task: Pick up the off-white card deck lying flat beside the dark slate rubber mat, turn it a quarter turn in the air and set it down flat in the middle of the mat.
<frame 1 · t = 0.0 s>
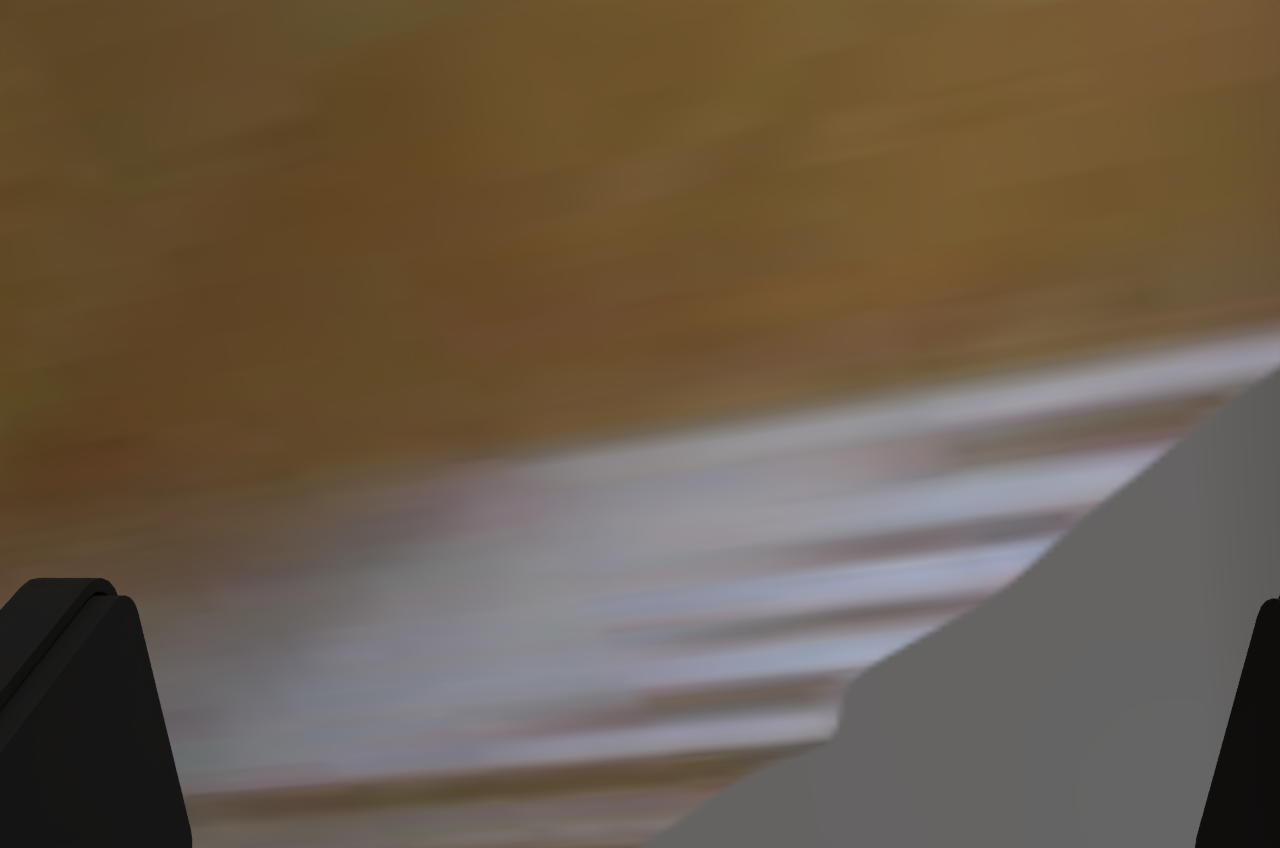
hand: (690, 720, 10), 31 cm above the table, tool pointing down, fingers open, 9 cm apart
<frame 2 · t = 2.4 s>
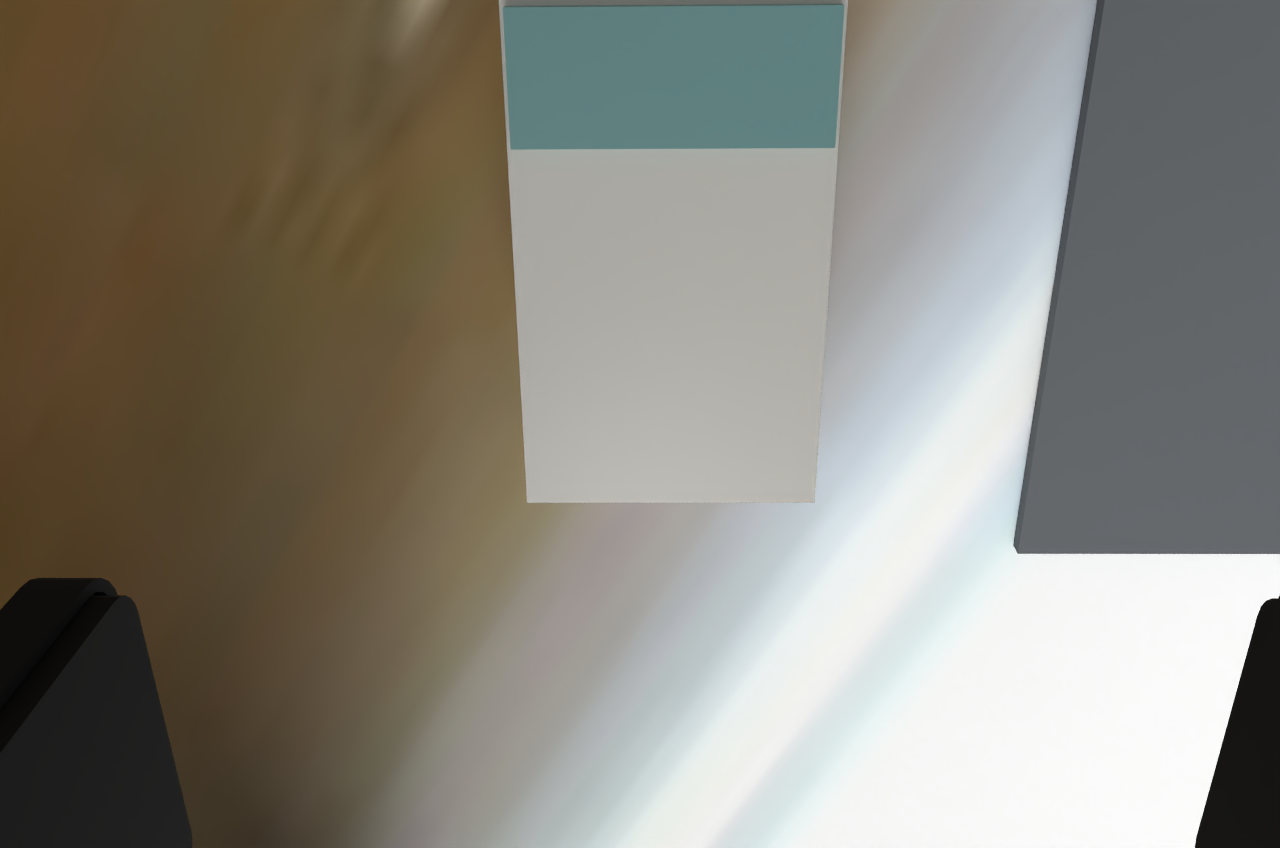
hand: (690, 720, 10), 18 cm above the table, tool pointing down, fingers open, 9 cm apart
card deck: (668, 206, 26), on the table
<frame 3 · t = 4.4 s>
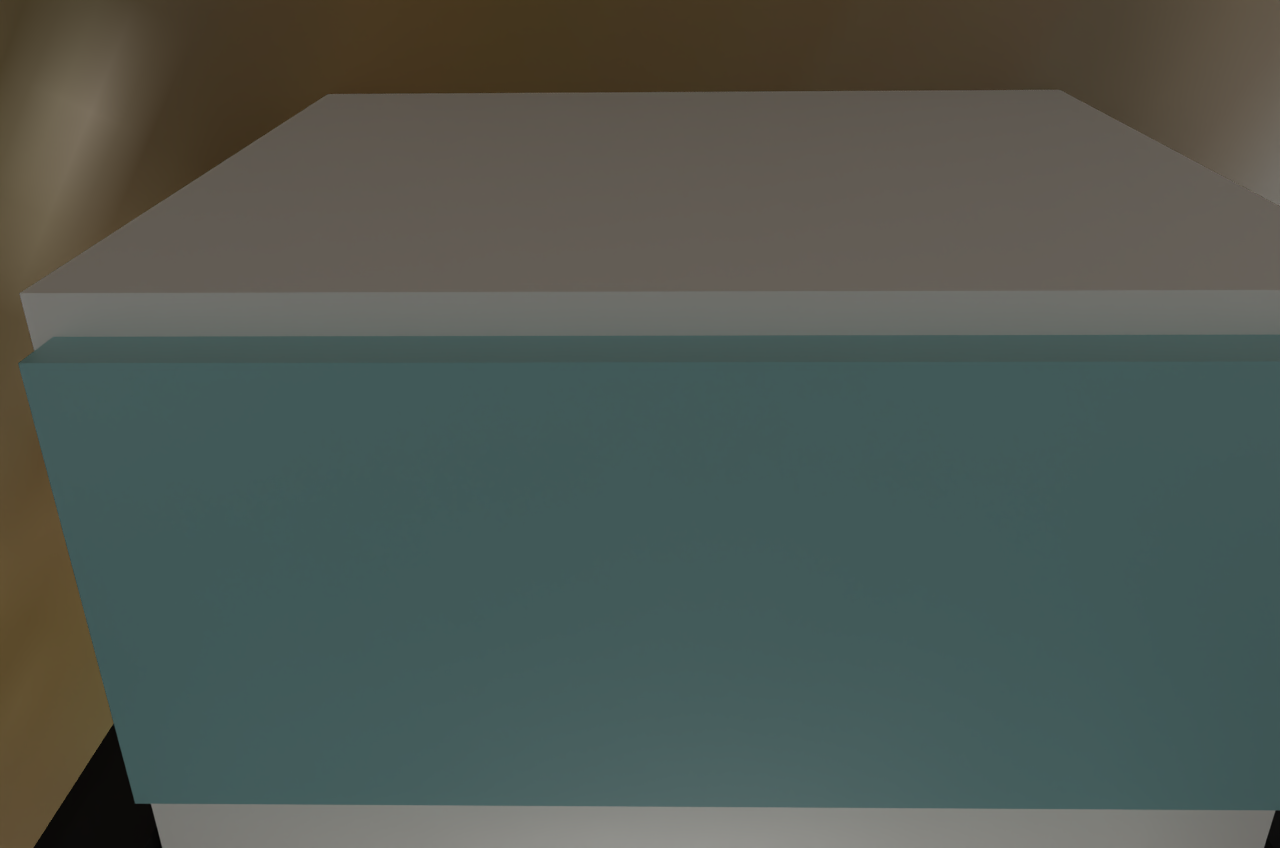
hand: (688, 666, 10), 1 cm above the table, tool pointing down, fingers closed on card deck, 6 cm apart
card deck: (686, 600, 11), on the table, touching gripper
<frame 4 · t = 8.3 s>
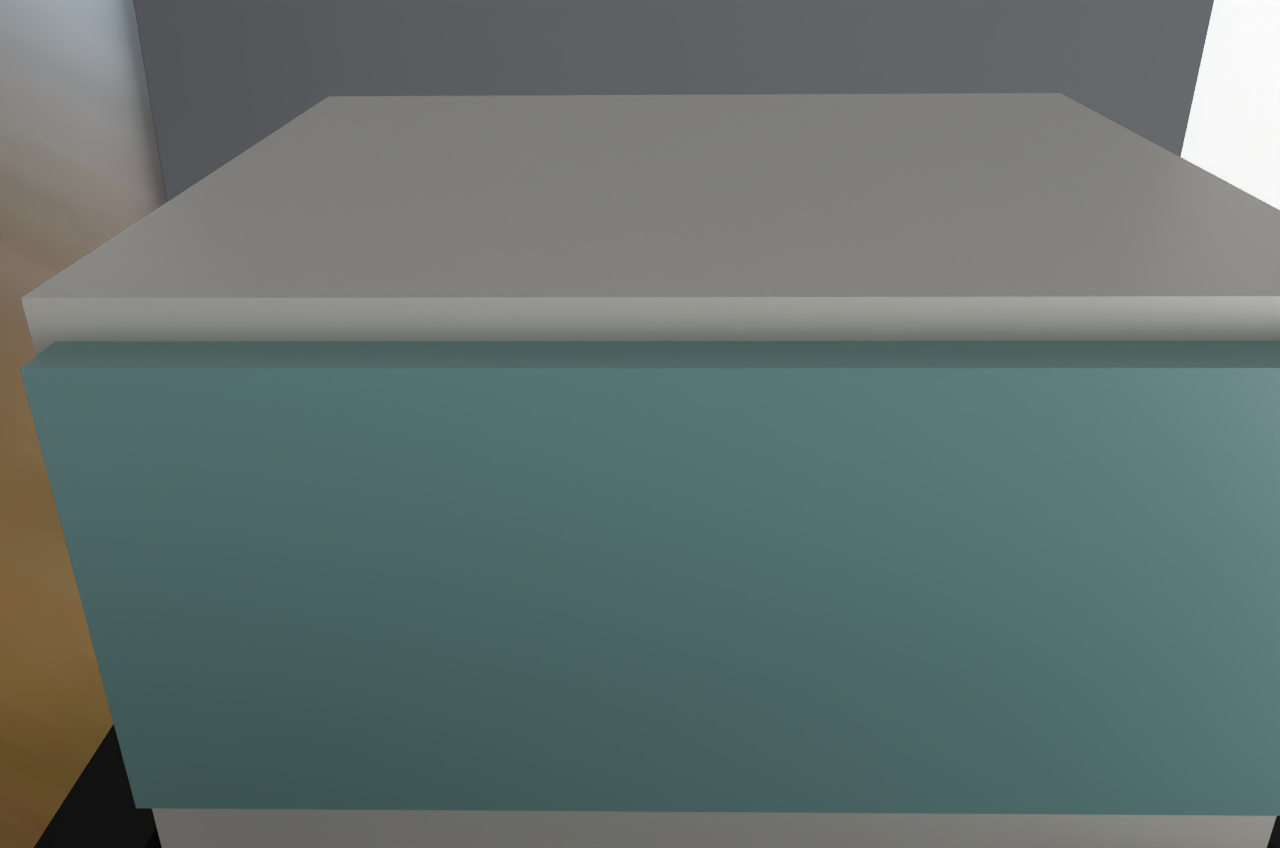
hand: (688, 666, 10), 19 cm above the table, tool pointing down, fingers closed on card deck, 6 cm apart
card deck: (686, 602, 11), point 18 cm above the table, touching gripper
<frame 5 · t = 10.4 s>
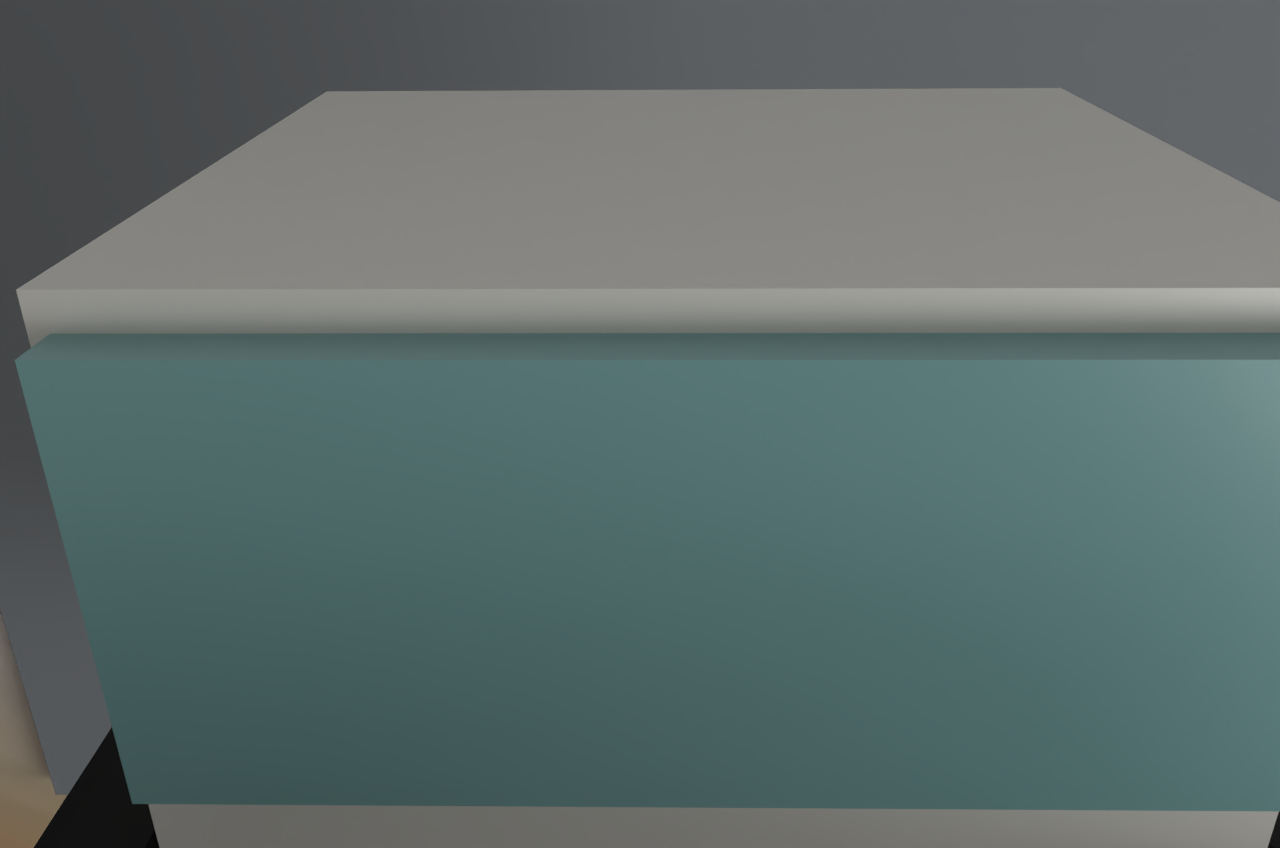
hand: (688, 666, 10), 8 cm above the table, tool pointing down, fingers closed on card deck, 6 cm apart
mat: (691, 346, 18), on the table
card deck: (685, 599, 11), point 7 cm above the table, touching gripper
when the fingers open (3 cm above the table, at t = 12.0 s): card deck stays where it is, resting on mat.
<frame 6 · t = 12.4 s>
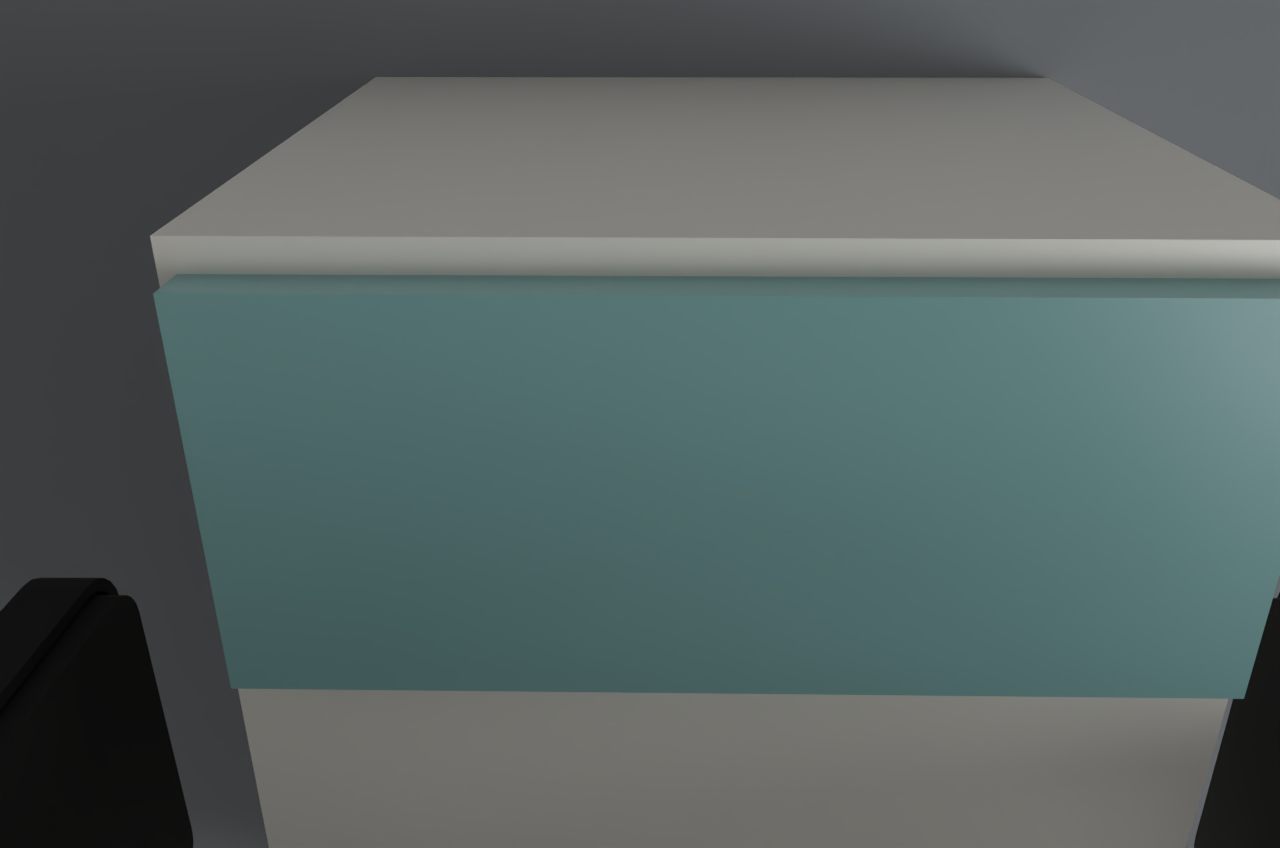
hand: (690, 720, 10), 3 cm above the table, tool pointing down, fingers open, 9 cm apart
mat: (683, 521, 13), on the table
card deck: (698, 553, 12), resting on mat
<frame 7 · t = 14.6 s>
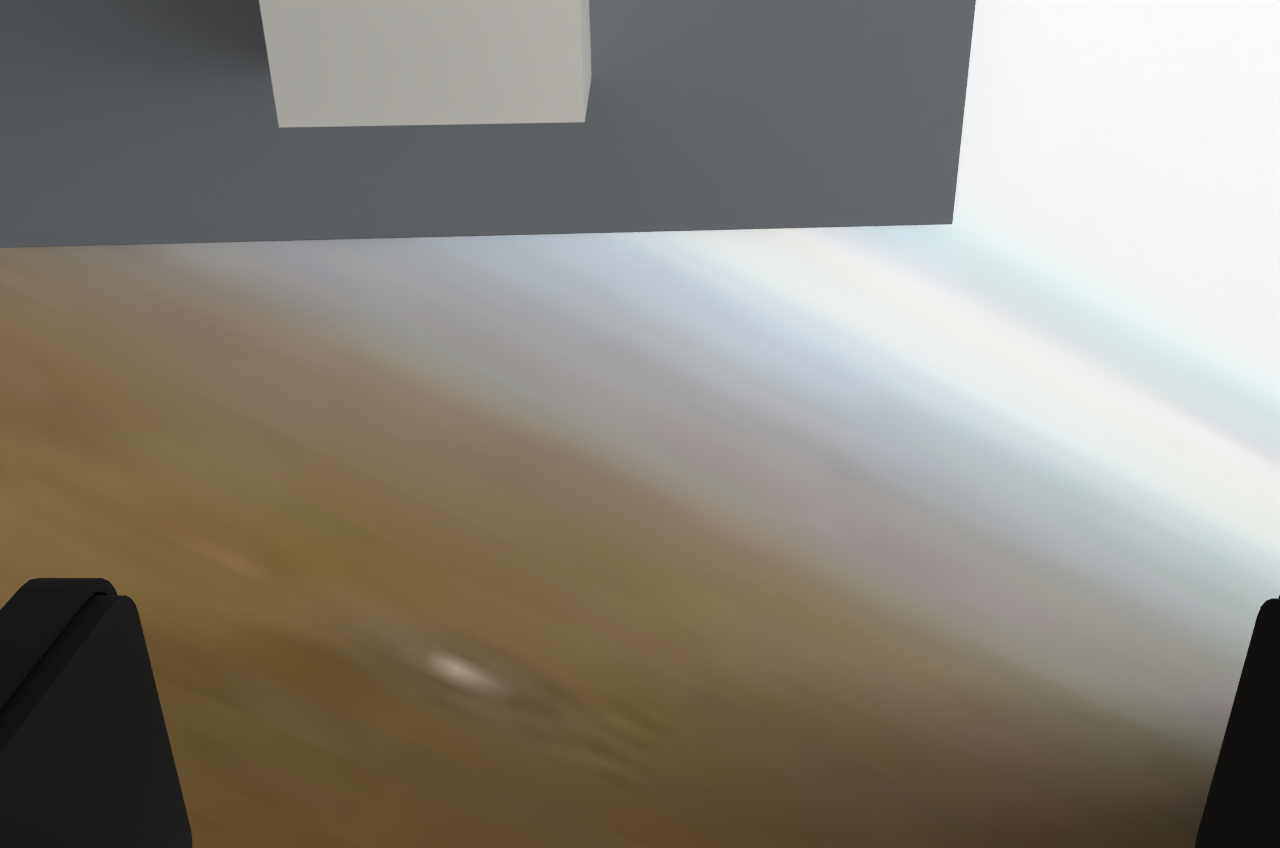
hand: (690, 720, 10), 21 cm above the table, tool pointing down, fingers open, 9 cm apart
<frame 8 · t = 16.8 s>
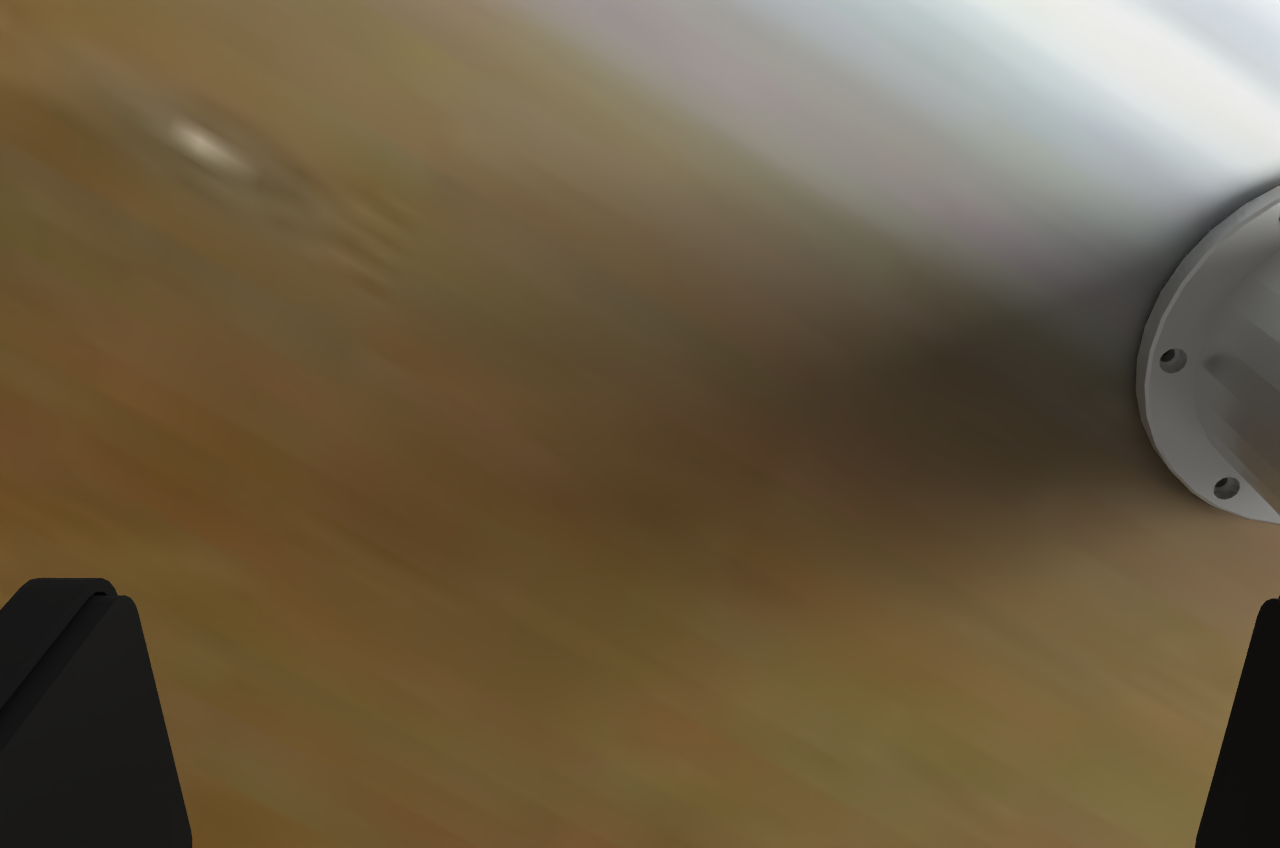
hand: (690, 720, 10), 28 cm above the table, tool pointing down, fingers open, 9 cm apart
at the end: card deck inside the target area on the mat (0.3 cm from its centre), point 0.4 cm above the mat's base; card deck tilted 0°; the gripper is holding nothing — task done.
